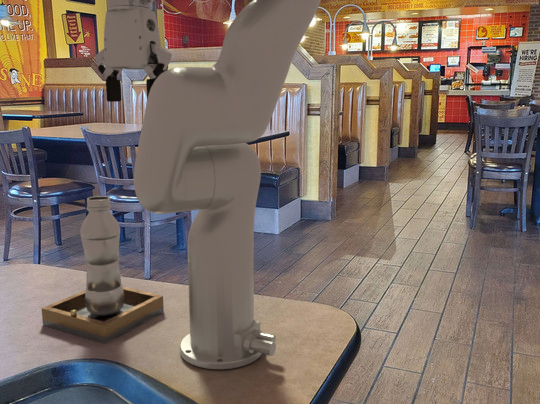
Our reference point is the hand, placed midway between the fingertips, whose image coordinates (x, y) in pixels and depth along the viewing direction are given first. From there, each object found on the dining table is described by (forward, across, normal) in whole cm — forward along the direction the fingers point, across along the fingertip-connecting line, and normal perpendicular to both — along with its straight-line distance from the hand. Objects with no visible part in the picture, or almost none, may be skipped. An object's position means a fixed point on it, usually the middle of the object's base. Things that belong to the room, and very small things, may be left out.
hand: (133, 101), depth 98 cm
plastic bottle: (+36, -4, +14) cm, 38 cm away
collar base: (+36, -4, +14) cm, 39 cm away
